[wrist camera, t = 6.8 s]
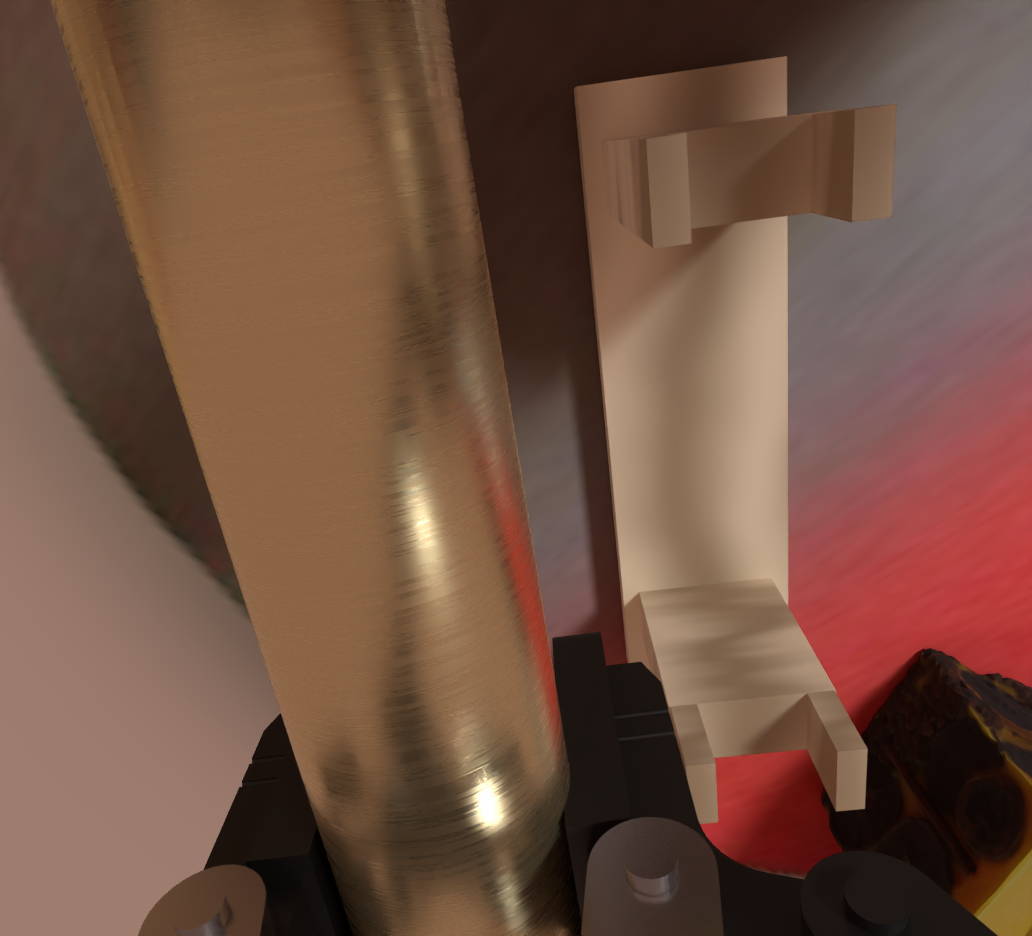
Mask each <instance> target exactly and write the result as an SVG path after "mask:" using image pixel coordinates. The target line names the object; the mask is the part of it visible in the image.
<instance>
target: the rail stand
mask: <svg viewBox="0 0 1032 936" xmlns="http://www.w3.org/2000/svg"><path fill="white" fill-rule="evenodd" d="M574 99H575V110H576V120H577V131H578V142H579V153H580V163H581V174H582V185H583V195H584V206H585V217H586V228H587V238H588V249H589V260H590V270H591V281H592V292H593V303H594V313H595V324H596V335H597V345H598V356H599V367H600V378H601V388H602V399H603V410H604V420H605V431H606V442H607V453H608V463H609V474H610V485H611V496H612V506H613V517H614V528H615V538H616V549H617V560H618V571H619V581H620V592H621V603H622V613H623V624H624V635H625V646H626V655H627V660H628V663H634V662H642V663H643V664H644V665H645V666H646V667H647V668H648V669H649V670H650V671H651V672H652V673H653V674H654V675H655V676H656V677H657V678H658V679H659V680H660V681H661V683H662V687H663V690H664V694H665V698H666V702H667V705H668V710H669V714H670V716H671V720H672V724H673V728H674V733H675V736H676V739H677V743H678V746H679V750H680V754H681V758H682V761H683V765H684V769H685V773H686V776H687V780H688V784H689V788H690V791H691V795H692V799H693V803H694V806H695V810H696V814H697V817H698V821H699V823H700V824H703V823H714V822H718V808H717V786H716V764H715V760H714V758H718V757H728V756H739V755H749V754H760V753H770V752H781V751H791V750H802V749H807V751H808V753H809V755H810V757H811V759H812V761H813V764H814V766H815V768H816V770H817V772H818V774H819V776H820V778H821V781H822V783H823V785H824V787H825V789H826V791H827V793H828V796H829V798H830V800H831V802H832V804H833V806H834V808H835V810H836V811H846V810H857V809H865V796H866V774H867V752H868V749H867V747H866V745H865V743H864V742H863V740H862V738H861V736H860V735H859V733H858V731H857V729H856V728H855V726H854V724H853V722H852V721H851V719H850V717H849V715H848V714H847V712H846V710H845V708H844V707H843V705H842V703H841V701H840V700H839V698H838V696H837V694H836V690H835V688H834V686H833V684H832V683H831V681H830V679H829V677H828V676H827V674H826V672H825V671H824V669H823V667H822V665H821V664H820V662H819V660H818V658H817V657H816V655H815V653H814V651H813V650H812V648H811V646H810V644H809V643H808V641H807V639H806V637H805V636H804V634H803V632H802V630H801V629H800V627H799V625H798V623H797V622H796V620H795V618H794V616H793V615H792V613H791V611H790V609H789V608H788V298H787V216H790V215H798V214H805V213H815V214H819V215H823V216H828V217H832V218H836V219H840V220H845V221H849V222H858V221H865V220H873V219H881V218H888V217H892V197H893V175H894V153H895V131H896V108H897V104H890V105H881V106H872V107H863V108H854V109H844V110H835V111H826V112H817V113H808V114H798V115H789V116H787V56H784V57H777V58H770V59H763V60H756V61H749V62H743V63H736V64H729V65H722V66H715V67H708V68H701V69H694V70H687V71H680V72H673V73H666V74H659V75H652V76H646V77H639V78H632V79H625V80H618V81H611V82H604V83H597V84H590V85H583V86H576V87H575V88H574Z"/></svg>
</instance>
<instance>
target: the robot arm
mask: <svg viewBox="0 0 1032 936" xmlns="http://www.w3.org/2000/svg"><path fill="white" fill-rule="evenodd" d="M553 655H554V670H555V683H556V689H557V695H558V701H559V708H560V714H561V720H562V726H563V732H564V738H565V745H566V751H567V757H568V763H569V769H570V786H569V792H568V797H567V800H566V803H565V806H564V814H565V827H566V833H567V839H568V845H569V851H570V856H571V862H572V868H573V874H574V880H575V886H576V892H577V897H578V903H579V909H580V915H581V921H582V931H581V936H998V935H996V934H995V933H994V932H993V931H992V930H991V929H989V928H988V927H987V926H986V925H985V924H983V923H982V922H981V921H980V920H979V919H977V918H976V917H975V916H974V915H973V914H971V913H970V912H969V911H968V910H967V909H966V908H964V907H963V906H962V905H961V904H960V903H958V902H957V901H956V900H955V899H954V898H952V897H951V896H950V895H949V894H948V893H947V892H945V891H944V890H943V889H942V888H941V887H939V886H938V885H937V884H936V883H935V882H933V881H932V880H931V879H930V878H929V877H927V876H926V875H925V874H923V873H922V872H921V871H919V870H918V869H916V868H915V867H913V866H911V865H909V864H908V863H906V862H904V861H901V860H899V859H897V858H894V857H892V856H888V855H885V854H881V853H876V852H870V851H847V852H841V853H837V854H834V855H831V856H829V857H827V858H825V859H823V860H821V861H820V862H819V863H817V864H816V865H815V866H814V867H813V868H812V869H811V870H810V871H809V872H808V874H807V876H806V878H805V879H798V878H792V877H787V876H781V875H776V874H770V873H766V872H761V871H757V870H754V869H751V868H749V867H746V866H743V865H741V864H739V863H737V862H735V861H733V860H732V859H730V858H729V857H727V856H726V855H724V854H723V853H722V852H720V851H719V850H718V849H717V848H716V847H715V846H714V845H713V844H712V843H711V842H710V840H709V839H708V838H707V837H706V835H705V833H704V832H703V830H702V828H701V826H700V823H699V821H698V817H697V814H696V810H695V806H694V803H693V799H692V795H691V791H690V788H689V784H688V780H687V776H686V773H685V769H684V765H683V761H682V758H681V754H680V750H679V746H678V743H677V739H676V736H675V733H674V728H673V724H672V720H671V716H670V714H669V710H668V705H667V702H666V698H665V694H664V690H663V687H662V683H661V681H660V680H659V679H658V678H657V677H656V676H655V675H654V674H653V673H652V672H651V671H650V670H649V669H648V668H647V667H646V666H645V665H644V664H643V663H642V662H634V663H626V664H618V665H610V666H606V663H605V657H604V651H603V645H602V639H601V633H600V632H595V633H587V634H579V635H571V636H563V637H555V638H553ZM138 936H353V934H352V931H351V928H350V925H349V922H348V919H347V916H346V913H345V910H344V907H343V903H342V900H341V897H340V894H339V891H338V888H337V885H336V882H335V879H334V876H333V873H332V869H331V866H330V863H329V860H328V857H327V854H326V851H325V848H324V845H323V842H322V839H321V836H320V832H319V829H318V826H317V823H316V820H315V817H314V814H313V811H312V808H311V805H310V802H309V798H308V795H307V792H306V789H305V786H304V783H303V780H302V777H301V774H300V771H299V768H298V764H297V761H296V758H295V755H294V752H293V749H292V746H291V743H290V740H289V737H288V734H287V730H286V727H285V724H284V721H283V718H282V715H281V713H280V714H279V715H278V716H277V718H276V719H275V720H274V721H273V722H272V723H271V724H270V725H269V726H268V727H267V728H266V729H265V730H264V732H263V734H262V737H261V739H260V741H259V743H258V746H257V748H256V751H255V753H254V755H253V757H252V764H249V767H248V769H247V771H246V774H245V776H244V778H243V780H242V787H239V789H238V792H237V794H236V796H235V799H234V801H233V803H232V806H231V808H230V810H229V812H228V815H227V817H226V819H225V822H224V824H223V826H222V829H221V831H220V833H219V836H218V838H217V840H216V843H215V845H214V847H213V849H212V852H211V854H210V856H209V858H208V861H207V863H206V865H205V868H204V870H203V871H200V872H198V873H196V874H194V875H192V876H190V877H188V878H186V879H185V880H183V881H182V882H180V883H179V884H177V885H176V886H174V887H173V888H172V889H171V890H170V891H168V892H167V893H166V894H165V895H164V896H163V897H162V898H161V899H160V900H159V901H158V902H157V903H156V904H155V906H154V907H153V908H152V910H151V911H150V912H149V914H148V915H147V917H146V919H145V920H144V922H143V924H142V926H141V929H140V931H139V934H138Z"/></svg>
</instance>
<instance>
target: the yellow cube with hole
mask: <svg viewBox="0 0 1032 936" xmlns="http://www.w3.org/2000/svg"><path fill="white" fill-rule="evenodd" d="M861 738H862V740H863V742H864V743H865V745H866V747H867V749H868V752H867V774H866V796H865V809H857V810H846V811H836V810H835V808H834V806H833V804H832V802H831V800H830V798H829V796H828V793H827V791H826V789H825V788H824V792H823V795H822V797H821V800H822V804H823V806H824V807H825V809H826V811H827V813H828V815H829V824H830V830H831V832H832V834H833V836H834V838H835V840H836V841H837V843H838V845H839V846H840V847H842V852H847V851H870V852H876V853H881V854H885V855H888V856H892V857H894V858H897V859H899V860H901V861H904V862H906V863H908V864H909V865H911V866H913V867H915V868H916V869H918V870H919V871H921V872H922V873H923V874H925V875H926V876H927V877H929V878H930V879H931V880H932V881H933V882H935V883H936V884H937V885H938V886H939V887H941V888H942V889H943V890H944V891H945V892H947V893H948V894H949V895H950V896H951V897H952V898H954V899H955V900H956V901H957V902H958V903H960V904H961V905H962V906H963V907H964V908H966V909H967V910H968V911H969V912H970V913H971V914H973V915H974V916H975V917H976V918H977V919H979V920H980V921H981V922H982V923H983V924H985V925H986V926H987V927H988V928H989V929H991V930H992V931H993V932H994V933H995V934H996V935H998V936H1032V688H1031V687H1027V686H1025V685H1024V684H1022V683H1020V682H1018V681H1016V680H1013V679H1010V678H1002V676H1001V675H1000V674H999V673H997V674H991V675H978V674H977V673H975V672H974V671H972V670H971V669H969V668H968V667H966V666H963V665H962V664H961V663H960V662H959V661H958V660H956V659H955V658H954V657H952V656H948V655H946V654H944V653H943V652H942V651H936V650H933V649H931V648H929V649H927V650H925V651H923V652H922V653H921V657H920V660H919V662H918V663H916V664H915V665H914V666H913V667H912V668H911V669H910V671H909V672H908V674H907V676H906V678H905V680H904V681H903V682H902V683H901V684H900V685H898V686H897V687H896V688H895V689H894V690H893V692H892V694H891V695H890V697H889V699H888V701H887V702H886V704H885V705H884V706H883V707H882V709H881V710H880V711H879V712H878V713H877V714H876V716H875V717H874V719H873V721H872V722H871V724H870V726H869V728H868V730H867V731H866V732H865V733H863V734H862V736H861Z"/></svg>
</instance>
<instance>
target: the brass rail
mask: <svg viewBox="0 0 1032 936" xmlns="http://www.w3.org/2000/svg"><path fill="white" fill-rule="evenodd" d="M50 1H51V4H52V7H53V10H54V14H55V17H56V20H57V23H58V26H59V29H60V32H61V35H62V38H63V41H64V44H65V48H66V51H67V54H68V57H69V60H70V63H71V66H72V69H73V72H74V75H75V78H76V82H77V85H78V88H79V91H80V94H81V97H82V100H83V103H84V106H85V109H86V112H87V116H88V119H89V122H90V125H91V128H92V131H93V134H94V137H95V140H96V143H97V146H98V150H99V153H100V156H101V159H102V162H103V165H104V168H105V171H106V174H107V177H108V180H109V183H110V187H111V190H112V193H113V196H114V199H115V202H116V205H117V208H118V211H119V214H120V217H121V221H122V224H123V227H124V230H125V233H126V236H127V239H128V242H129V245H130V248H131V251H132V255H133V258H134V261H135V264H136V267H137V270H138V273H139V276H140V279H141V282H142V285H143V289H144V292H145V295H146V298H147V301H148V304H149V307H150V310H151V313H152V316H153V319H154V323H155V326H156V329H157V332H158V335H159V338H160V341H161V344H162V347H163V350H164V353H165V357H166V360H167V363H168V366H169V369H170V372H171V375H172V378H173V381H174V384H175V387H176V391H177V394H178V397H179V400H180V403H181V406H182V409H183V412H184V415H185V418H186V421H187V425H188V428H189V431H190V434H191V437H192V440H193V443H194V446H195V449H196V452H197V455H198V459H199V462H200V465H201V468H202V471H203V474H204V477H205V480H206V483H207V486H208V489H209V493H210V496H211V499H212V502H213V505H214V508H215V511H216V514H217V517H218V520H219V523H220V526H221V530H222V533H223V536H224V539H225V542H226V545H227V548H228V551H229V554H230V557H231V560H232V564H233V567H234V570H235V573H236V576H237V579H238V582H239V585H240V588H241V591H242V594H243V598H244V601H245V604H246V607H247V610H248V613H249V616H250V619H251V622H252V625H253V628H254V632H255V635H256V638H257V641H258V644H259V647H260V650H261V653H262V656H263V659H264V662H265V665H266V669H267V672H268V675H269V678H270V681H271V684H272V687H273V690H274V693H275V696H276V699H277V703H278V706H279V709H280V712H281V715H282V718H283V721H284V724H285V727H286V730H287V734H288V737H289V740H290V743H291V746H292V749H293V752H294V755H295V758H296V761H297V764H298V768H299V771H300V774H301V777H302V780H303V783H304V786H305V789H306V792H307V795H308V798H309V802H310V805H311V808H312V811H313V814H314V817H315V820H316V823H317V826H318V829H319V832H320V836H321V839H322V842H323V845H324V848H325V851H326V854H327V857H328V860H329V863H330V866H331V869H332V873H333V876H334V879H335V882H336V885H337V888H338V891H339V894H340V897H341V900H342V903H343V907H344V910H345V913H346V916H347V919H348V922H349V925H350V928H351V931H352V934H353V936H581V931H582V921H581V915H580V909H579V903H578V897H577V892H576V886H575V880H574V874H573V868H572V862H571V856H570V851H569V845H568V839H567V833H566V827H565V814H564V806H565V803H566V800H567V797H568V792H569V786H570V769H569V763H568V757H567V751H566V745H565V738H564V732H563V726H562V720H561V714H560V708H559V701H558V695H557V689H556V683H555V677H554V671H553V664H552V658H551V652H550V646H549V640H548V634H547V627H546V621H545V615H544V609H543V603H542V597H541V590H540V584H539V578H538V572H537V566H536V560H535V553H534V547H533V541H532V535H531V529H530V523H529V516H528V510H527V504H526V498H525V492H524V486H523V479H522V473H521V467H520V461H519V455H518V448H517V442H516V436H515V430H514V424H513V418H512V411H511V405H510V399H509V393H508V387H507V381H506V374H505V368H504V362H503V356H502V350H501V344H500V337H499V331H498V325H497V319H496V313H495V307H494V300H493V294H492V288H491V282H490V276H489V270H488V263H487V257H486V251H485V245H484V239H483V233H482V226H481V220H480V214H479V208H478V202H477V196H476V189H475V183H474V177H473V171H472V165H471V159H470V152H469V146H468V140H467V134H466V128H465V122H464V115H463V109H462V103H461V97H460V91H459V85H458V78H457V72H456V66H455V60H454V54H453V48H452V41H451V35H450V29H449V23H448V17H447V11H446V4H445V0H50Z"/></svg>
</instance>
